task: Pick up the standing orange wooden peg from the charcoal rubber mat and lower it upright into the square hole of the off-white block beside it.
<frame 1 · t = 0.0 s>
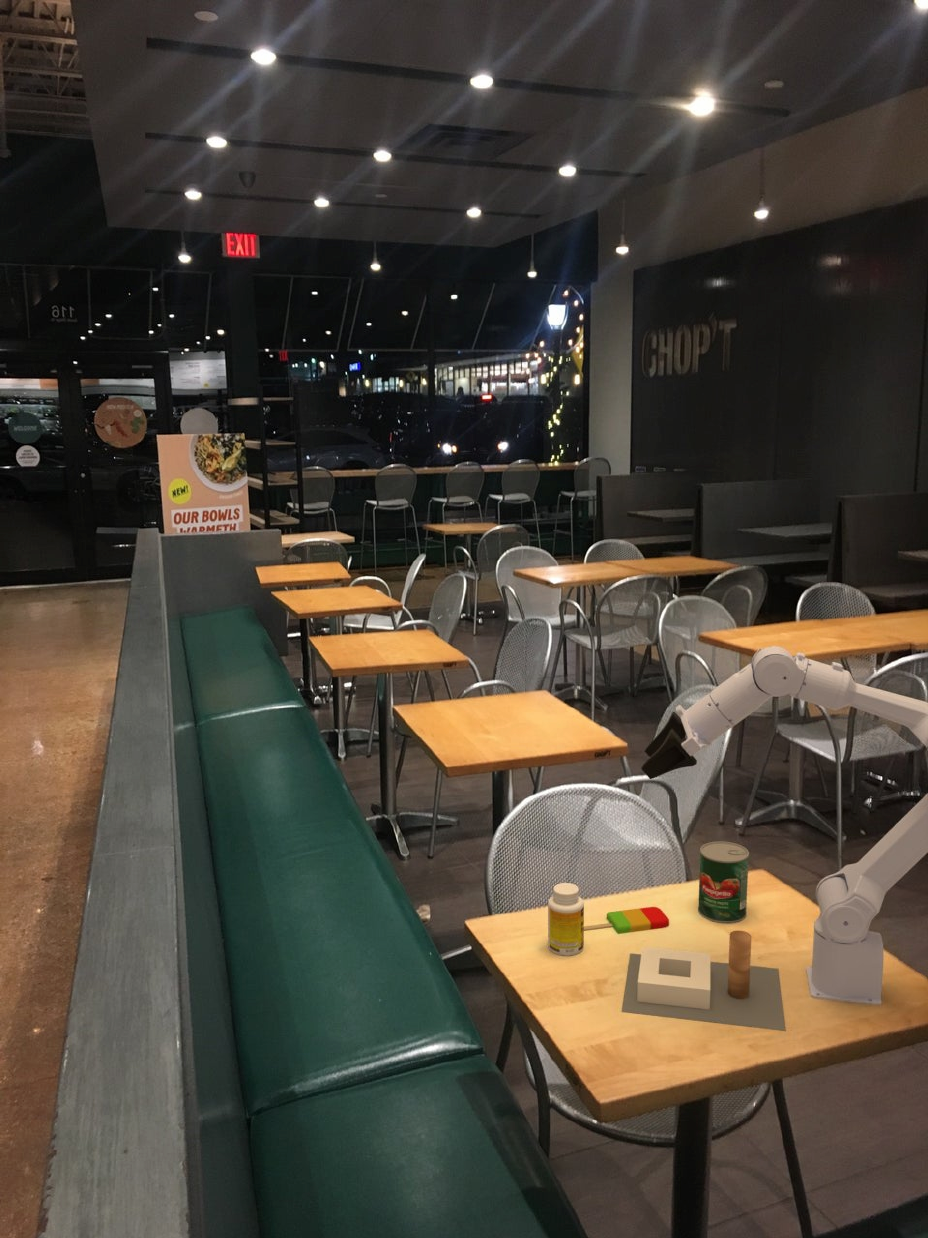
hand: (647, 764, 147), 32 cm above the table, tool tilted 50°, fingers open, 7 cm apart
hole block: (674, 986, 147), resting on mat
supplement bottle: (566, 950, 159), on the table
peg: (738, 993, 145), resting on mat
popsicle: (622, 929, 166), on the table
mat: (702, 991, 146), on the table
canned tomato: (722, 913, 170), on the table
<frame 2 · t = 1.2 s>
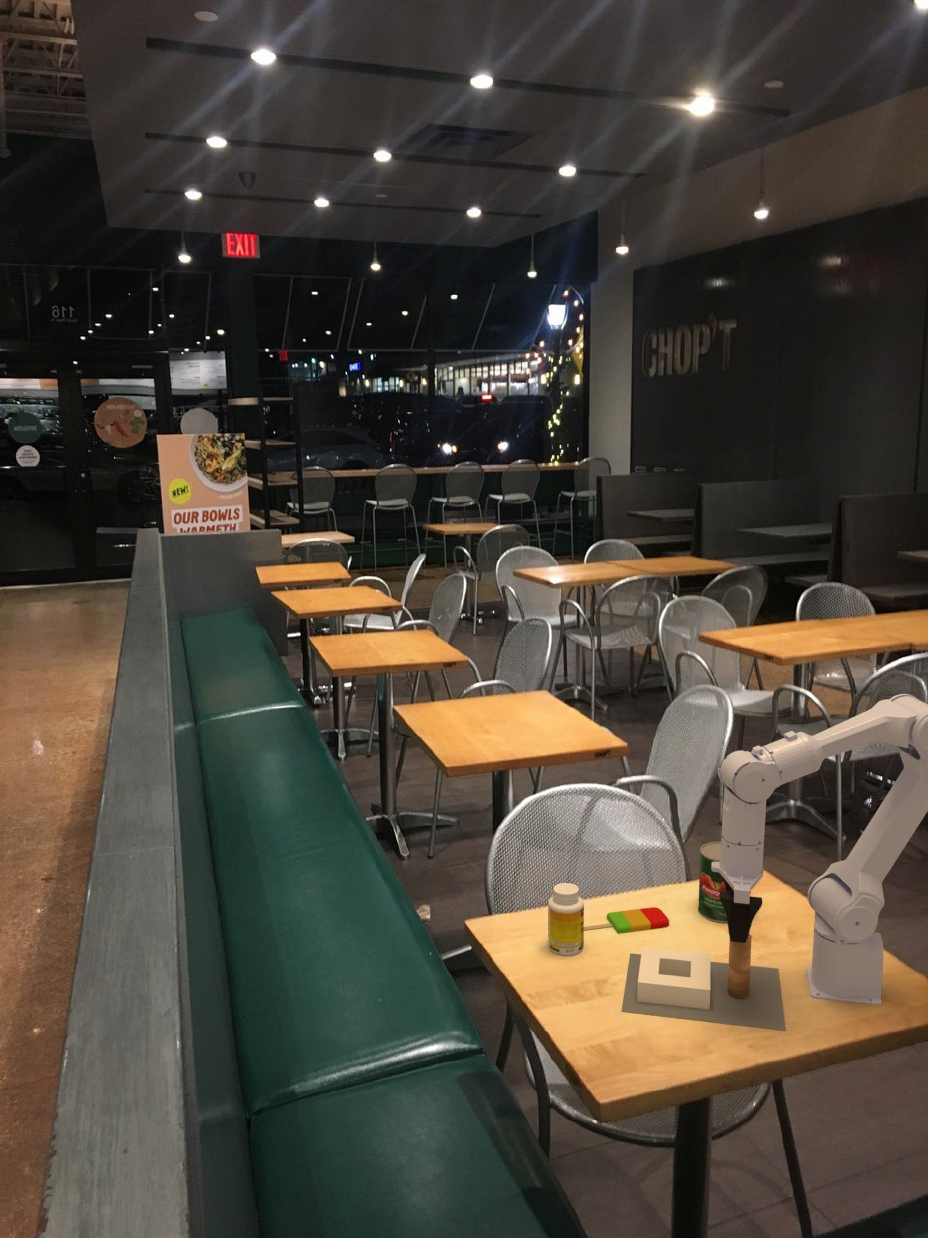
hand: (737, 927, 143), 11 cm above the table, tool pointing down, fingers open, 7 cm apart
nothing on the table moved.
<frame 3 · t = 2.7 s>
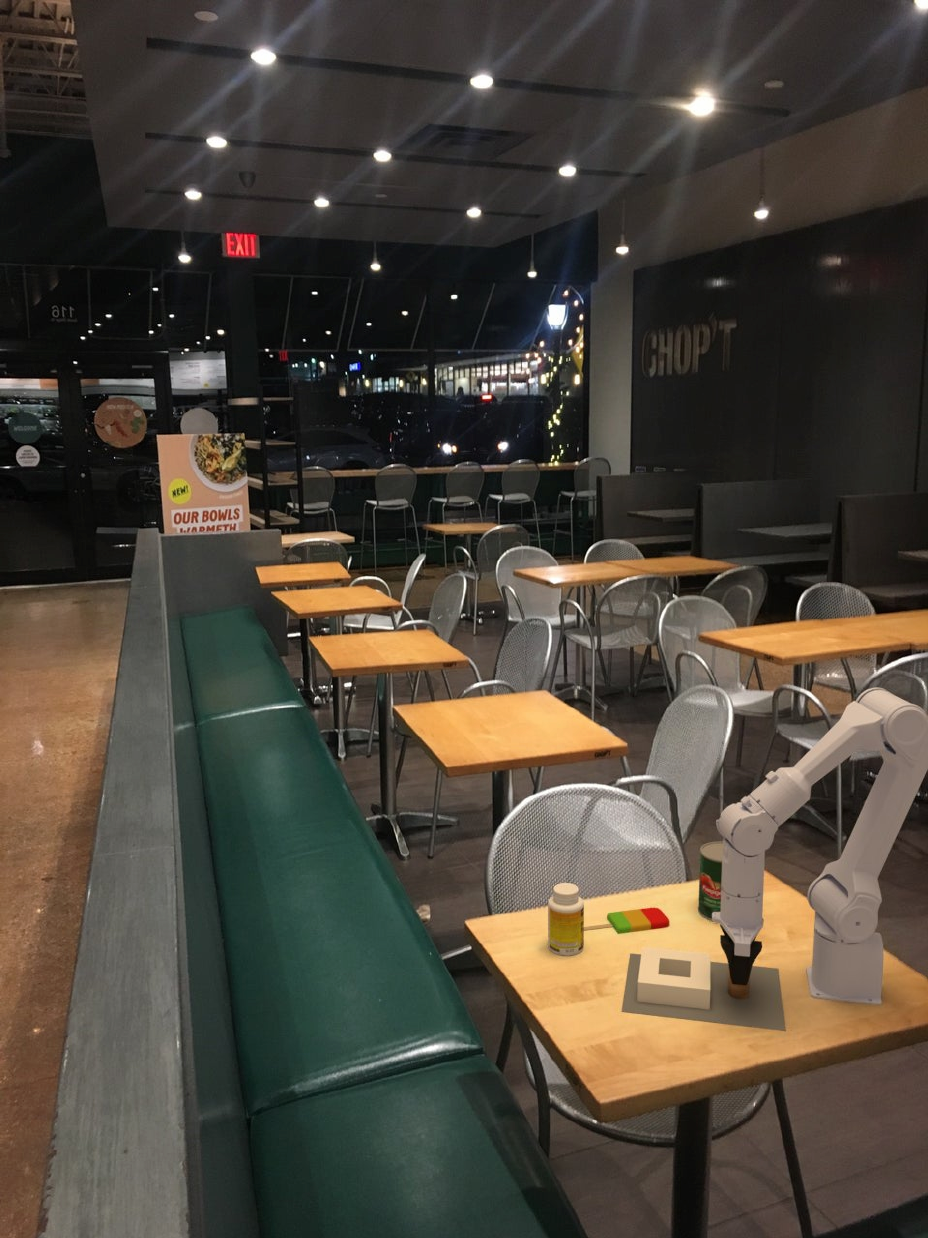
hand: (738, 977, 145), 3 cm above the table, tool pointing down, fingers closed on peg, 3 cm apart
peg: (738, 993, 145), resting on mat, touching gripper
everything else where it was.
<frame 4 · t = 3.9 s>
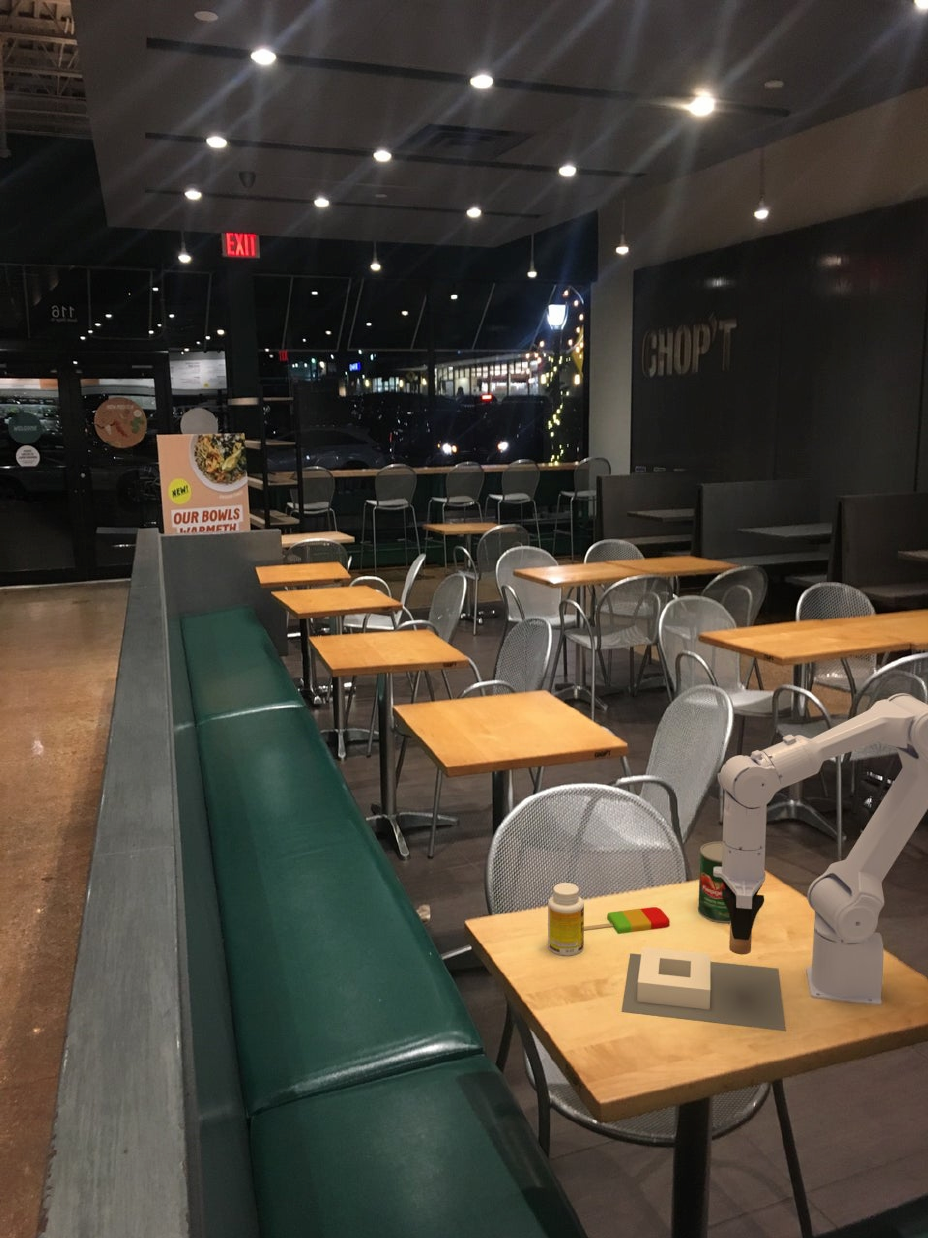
hand: (740, 932, 143), 10 cm above the table, tool pointing down, fingers closed on peg, 3 cm apart
peg: (740, 949, 144), point 7 cm above the table, touching gripper
everything else where it was.
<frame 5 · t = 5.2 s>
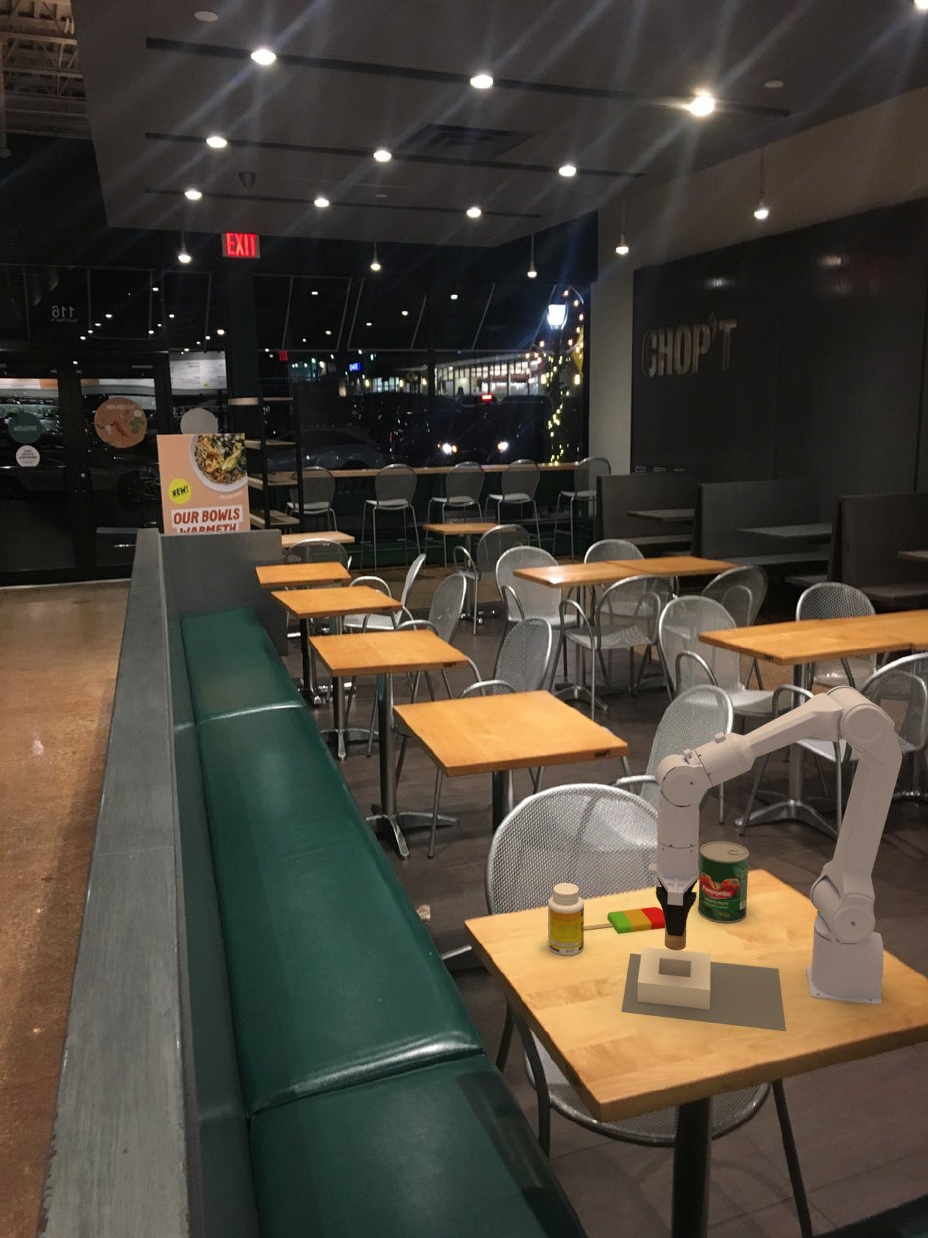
hand: (675, 928, 145), 9 cm above the table, tool pointing down, fingers closed on peg, 3 cm apart
peg: (675, 945, 146), point 7 cm above the table, touching gripper
everything else where it was.
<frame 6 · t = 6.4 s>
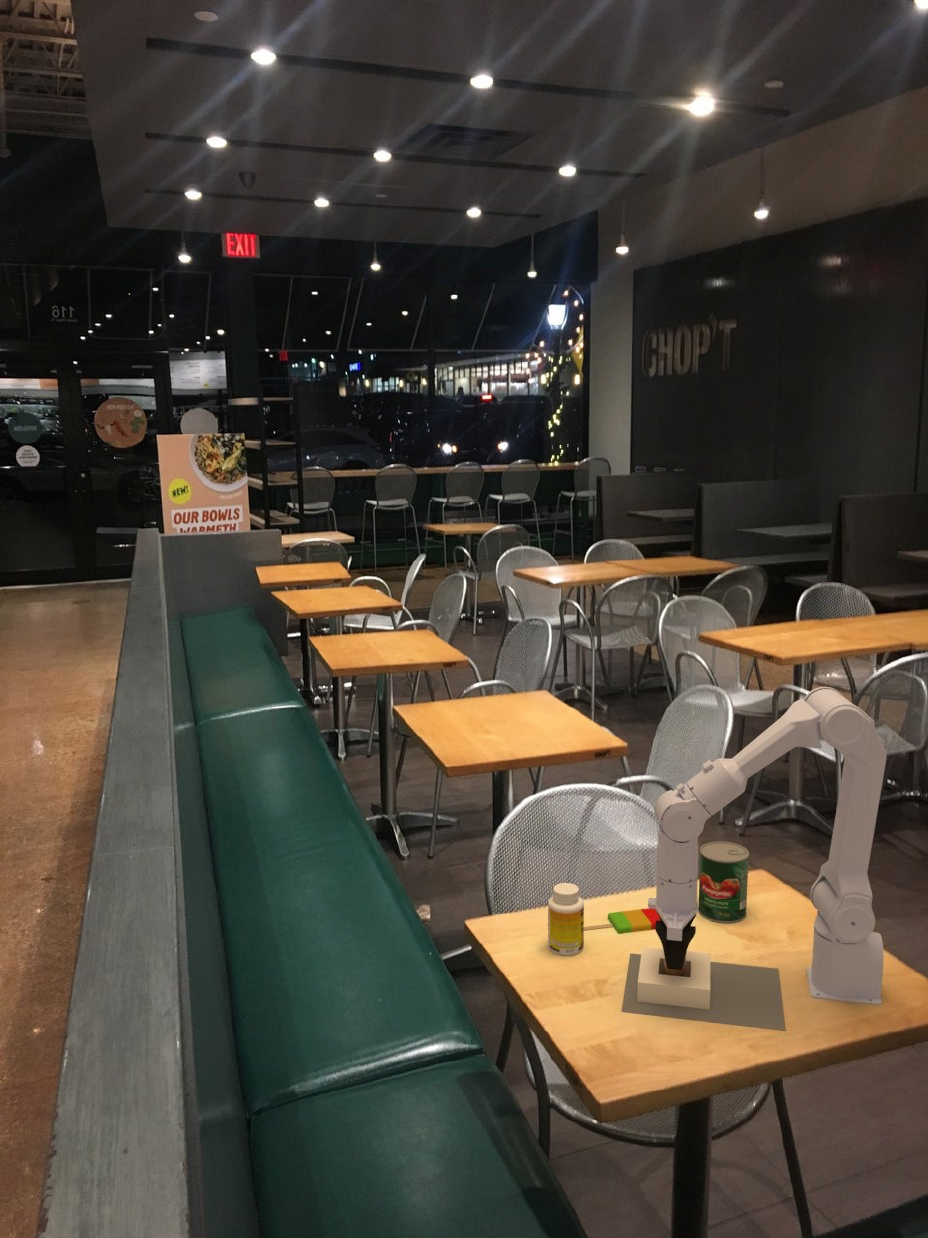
hand: (675, 962, 147), 4 cm above the table, tool pointing down, fingers closed on peg, 3 cm apart
peg: (674, 978, 147), point 2 cm above the table, touching gripper
everything else where it was.
when the fingers open (4 cm above the table, at t = 6.6 s): peg drops 1 cm, resting on mat.
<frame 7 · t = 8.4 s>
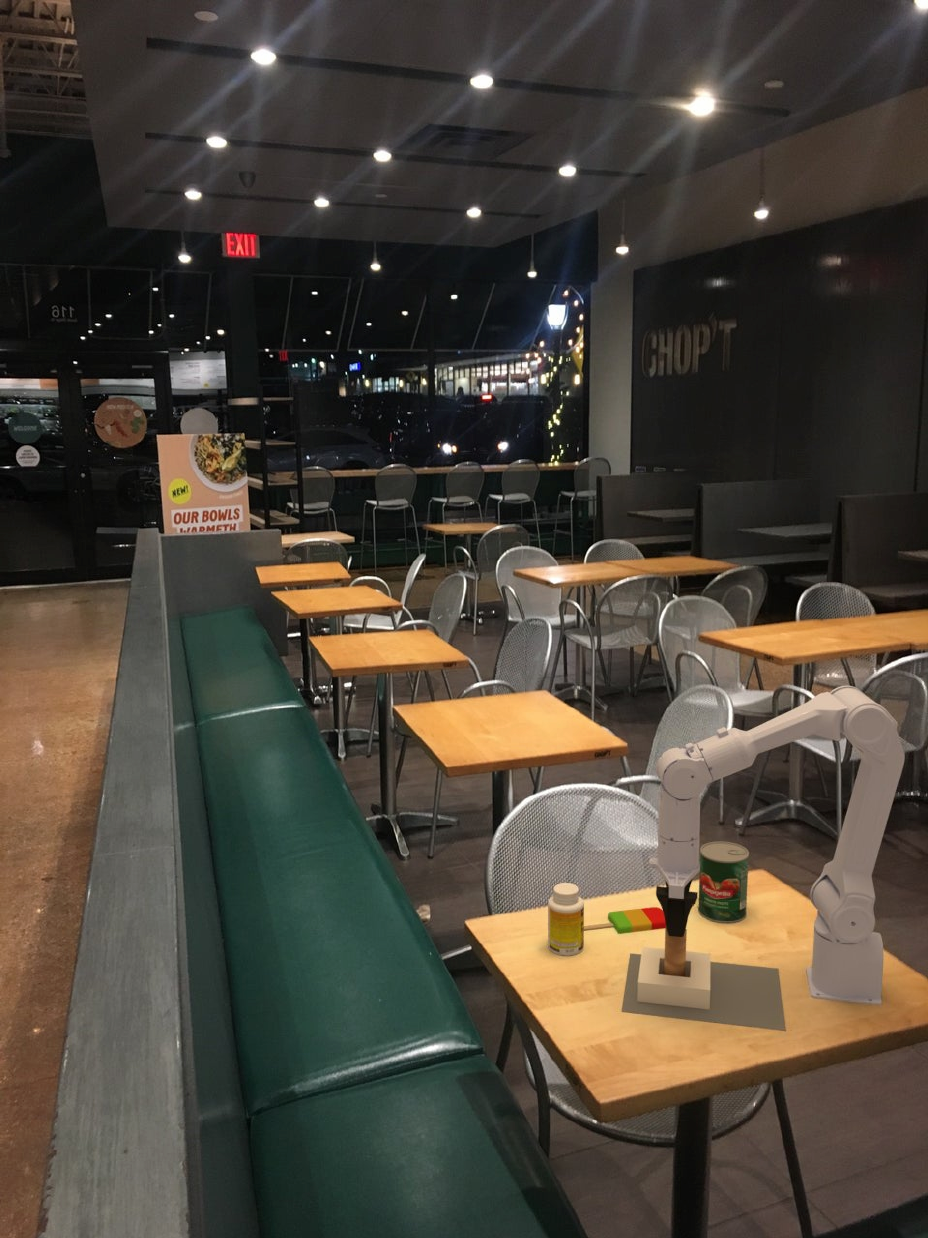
hand: (676, 922, 145), 10 cm above the table, tool pointing down, fingers open, 7 cm apart
peg: (674, 986, 147), resting on mat
everything else where it was.
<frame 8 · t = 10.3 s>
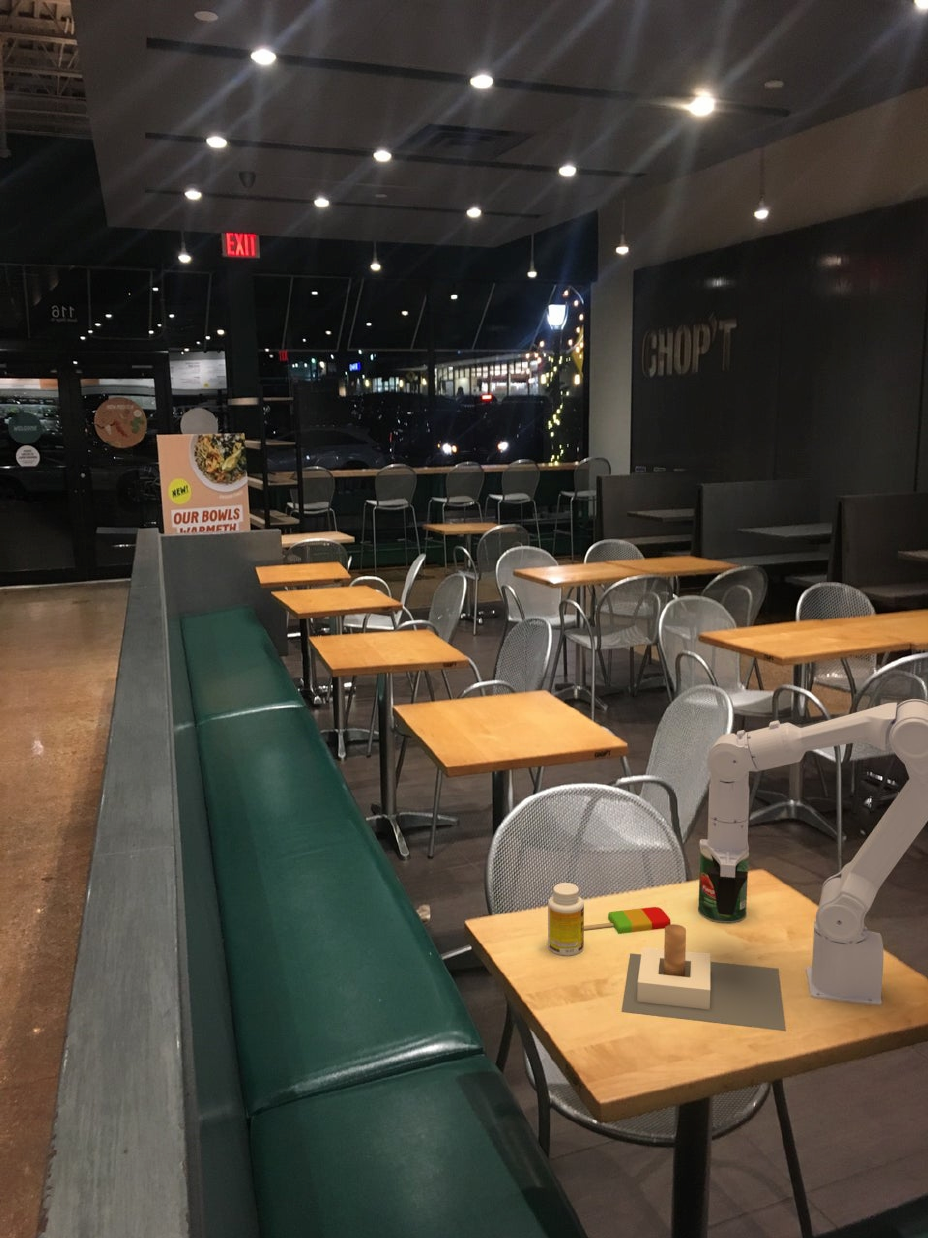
hand: (725, 901, 151), 10 cm above the table, tool pointing down, fingers open, 7 cm apart
nothing on the table moved.
at the end: peg 0.0 cm off-centre on the hole block, point 0.0 cm above the hole block's base; peg tilted 0°; the gripper is holding nothing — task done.
